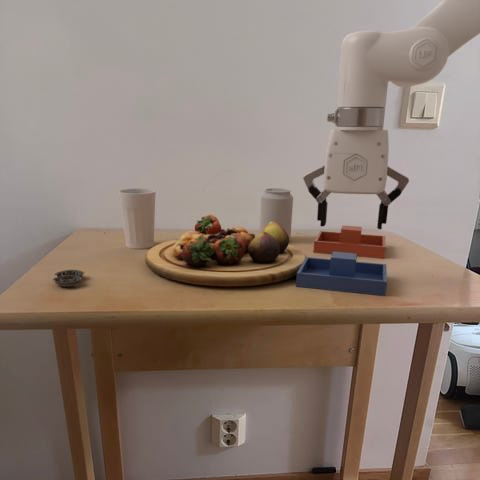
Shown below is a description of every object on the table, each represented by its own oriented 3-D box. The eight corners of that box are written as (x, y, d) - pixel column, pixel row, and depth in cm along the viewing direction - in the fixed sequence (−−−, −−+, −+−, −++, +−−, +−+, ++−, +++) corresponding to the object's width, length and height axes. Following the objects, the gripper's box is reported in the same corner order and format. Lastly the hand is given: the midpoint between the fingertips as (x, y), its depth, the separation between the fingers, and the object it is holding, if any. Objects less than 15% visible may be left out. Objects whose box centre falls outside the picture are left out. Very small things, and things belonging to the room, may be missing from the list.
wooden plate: (152, 245, 111) (150, 208, 108) (290, 244, 114) (292, 208, 110) (136, 290, 82) (133, 242, 78) (323, 288, 84) (327, 241, 81)
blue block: (354, 276, 90) (357, 253, 88) (353, 283, 86) (356, 259, 84) (330, 274, 91) (332, 251, 89) (328, 281, 87) (330, 257, 85)
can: (271, 244, 113) (274, 192, 109) (253, 238, 119) (255, 188, 114) (296, 241, 117) (300, 190, 112) (277, 235, 123) (280, 186, 118)
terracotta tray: (383, 246, 114) (385, 235, 113) (384, 258, 104) (385, 247, 103) (319, 241, 118) (319, 230, 117) (313, 252, 108) (314, 241, 107)
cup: (119, 249, 106) (115, 193, 101) (124, 241, 113) (120, 188, 109) (156, 249, 107) (154, 194, 102) (158, 241, 114) (156, 188, 110)
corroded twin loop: (50, 289, 81) (50, 283, 81) (57, 274, 88) (56, 269, 88) (82, 287, 82) (81, 281, 82) (85, 273, 89) (85, 268, 89)
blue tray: (384, 276, 92) (386, 264, 91) (384, 295, 82) (387, 281, 81) (304, 269, 96) (305, 256, 95) (295, 286, 86) (296, 273, 85)
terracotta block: (359, 245, 112) (361, 226, 111) (358, 250, 108) (361, 230, 107) (340, 244, 113) (342, 225, 112) (339, 248, 109) (341, 229, 108)
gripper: (303, 120, 77) (298, 228, 84) (418, 120, 73) (403, 233, 79) (309, 120, 84) (304, 220, 90) (414, 120, 80) (401, 224, 86)
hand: (350, 226), depth 85 cm, fingers open, 9 cm apart
